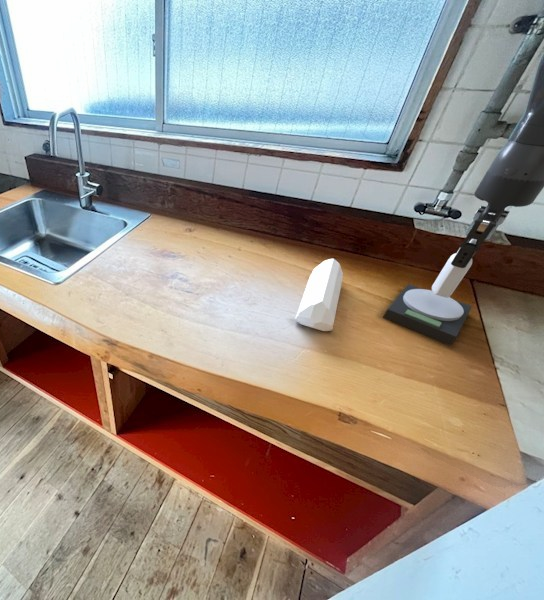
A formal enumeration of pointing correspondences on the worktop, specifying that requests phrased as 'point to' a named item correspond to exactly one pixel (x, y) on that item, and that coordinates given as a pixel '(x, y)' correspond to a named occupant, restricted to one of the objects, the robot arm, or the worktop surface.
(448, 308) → the kitchen scale
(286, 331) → the worktop surface
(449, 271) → the eye dropper bottle
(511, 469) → the worktop surface
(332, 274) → the chamfered white bar
